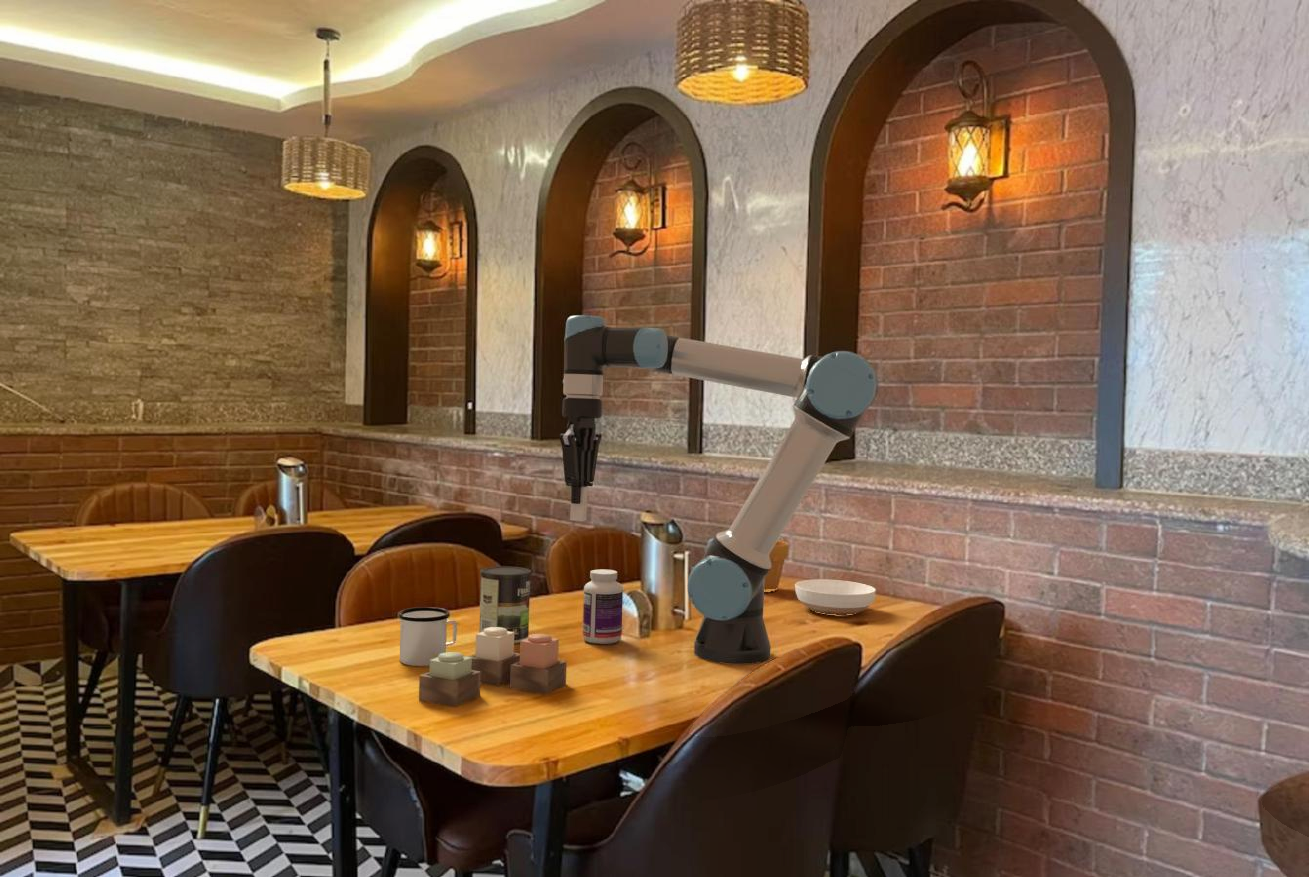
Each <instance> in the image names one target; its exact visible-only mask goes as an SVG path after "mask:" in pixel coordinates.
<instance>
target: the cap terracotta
mask: <svg viewBox="0 0 1309 877" xmlns="http://www.w3.org/2000/svg"><path fill="white" fill-rule="evenodd" d="M559 641H560V639H559V638H556V637H555V638H554V637H552V635H550V634H548V633H547V634H546V633H534V634H529V635H528V638H527V639H524V640H522V641H520V643H519V654H520V665H522V666H528V667H534V668H540V669H547V668H549V667H551V666H553V665H555V664H557V663H558V660H559V646H560V644H559V643H560V642H559Z"/></svg>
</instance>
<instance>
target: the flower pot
mask: <svg viewBox="0 0 1309 877" xmlns="http://www.w3.org/2000/svg"><path fill="white" fill-rule="evenodd" d="M789 545H790V544H789V542H786V541H783V540H779V539H778V541H777V542H776V544H775V545H774V547H773V549H772V550H771V552H770V554H769V557H770V561H771V568H770V570H769V572H768V573H767V575H766V577H765V581H764V589H765V590H766V589H776V588H779V584H780V579H781V576H782V573H783V567H784V564H785V560H786V559H787V558H788V557H789V548H790V546H789Z"/></svg>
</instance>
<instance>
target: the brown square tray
mask: <svg viewBox="0 0 1309 877" xmlns="http://www.w3.org/2000/svg"><path fill="white" fill-rule="evenodd" d="M480 677H481V672H480V671H474V670H471V674H469V675H466V676H464V677H461V678H459V679H457V680H450V679H444V678H439V677H433V676H429V671H428V672H425V673H422V674H420V675H419V681H418V684H419V686H418V701H421V702H428V703H433V704H439V705H441V706H442V705H443V706H448V707H453V708H456V707H458V706H460V705H462V704H464V703H468V702H469V701H471V700H473V699H475V698H477V697H480V696H481V683H480Z"/></svg>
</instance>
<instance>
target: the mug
mask: <svg viewBox="0 0 1309 877" xmlns="http://www.w3.org/2000/svg"><path fill="white" fill-rule="evenodd" d="M450 616H451V612H450V611H449V610H448V609H446V608H442V607H432V606H431V607H429V606H423V607H422V606H420V607H419V606H418V607H410V608H406V609H405V608H404V609H402V610H400V611H398V612H397V618H398V619H399V620H400V635H399V638H400V639H399V662H400V663H402V664H404V665H406V666H411V667H430V660H432V659H434V658H437V657H438V656H439V654H441V653H446V652H447V647H448V646H453V645H454V644H455V643H456V640H457V633H458V632H457V631H458V628H457V627H458V622H457V621H456V620H454V619H449V618H450ZM450 623H452V624H453V627H452V628H453V632H452V640H451V641H450V642H447V635H448V634H447V633H448V632H447V628H448V626H447V624H450Z"/></svg>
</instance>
